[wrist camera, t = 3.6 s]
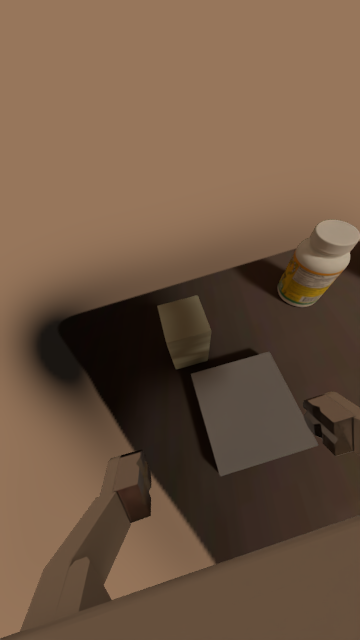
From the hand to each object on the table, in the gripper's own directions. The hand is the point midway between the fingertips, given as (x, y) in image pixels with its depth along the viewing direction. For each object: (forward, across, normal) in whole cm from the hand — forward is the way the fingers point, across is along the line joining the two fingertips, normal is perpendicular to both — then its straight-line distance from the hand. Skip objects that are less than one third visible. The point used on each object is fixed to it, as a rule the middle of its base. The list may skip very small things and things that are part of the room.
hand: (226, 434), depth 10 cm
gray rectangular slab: (+10, -4, +8) cm, 13 cm away
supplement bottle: (+18, -17, -1) cm, 25 cm away
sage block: (+15, 0, +2) cm, 15 cm away
